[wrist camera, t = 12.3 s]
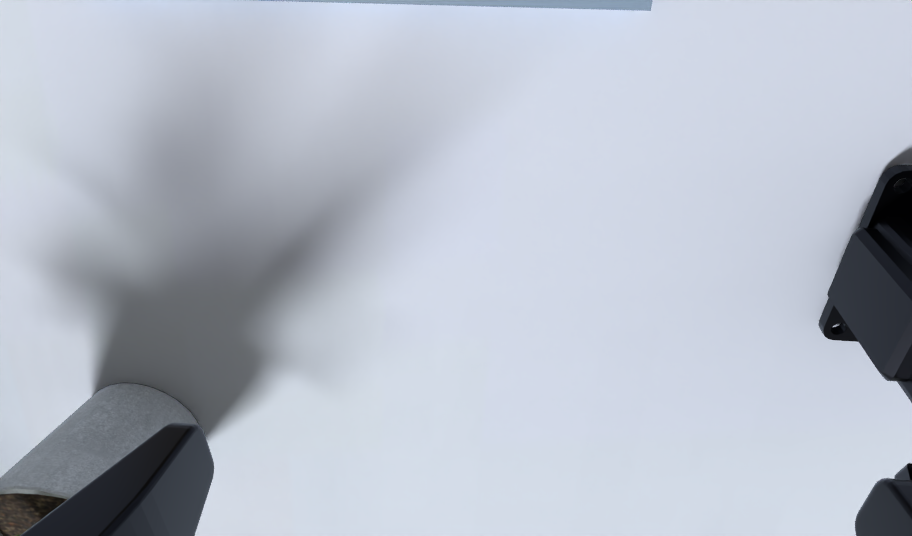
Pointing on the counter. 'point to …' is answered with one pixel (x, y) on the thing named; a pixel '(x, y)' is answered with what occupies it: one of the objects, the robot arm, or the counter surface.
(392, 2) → the board
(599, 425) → the counter surface
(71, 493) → the house plant
